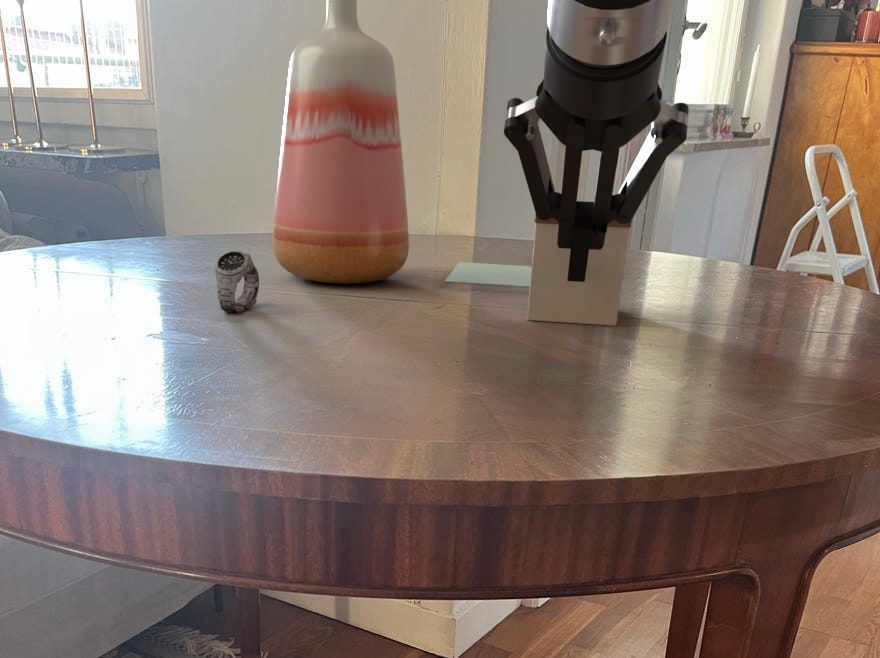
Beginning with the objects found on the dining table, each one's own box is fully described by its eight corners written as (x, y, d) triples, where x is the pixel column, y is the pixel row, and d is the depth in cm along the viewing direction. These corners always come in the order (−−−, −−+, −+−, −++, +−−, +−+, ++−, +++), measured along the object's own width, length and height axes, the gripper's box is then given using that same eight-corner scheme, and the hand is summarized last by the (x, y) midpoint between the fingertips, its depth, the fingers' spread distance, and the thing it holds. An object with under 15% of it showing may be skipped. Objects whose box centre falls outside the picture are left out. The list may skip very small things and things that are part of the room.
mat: (609, 272, 113) (609, 270, 113) (612, 293, 101) (612, 291, 101) (459, 263, 115) (459, 262, 115) (444, 283, 103) (444, 281, 103)
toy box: (615, 309, 92) (628, 207, 88) (617, 326, 85) (632, 217, 81) (530, 303, 94) (539, 203, 89) (525, 320, 86) (535, 212, 82)
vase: (389, 266, 111) (395, -45, 96) (423, 289, 99) (437, -64, 84) (265, 268, 107) (252, -55, 93) (285, 291, 95) (274, -76, 81)
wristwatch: (209, 313, 85) (205, 254, 83) (237, 301, 90) (234, 244, 88) (245, 316, 85) (242, 256, 82) (272, 304, 90) (270, 247, 87)
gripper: (496, 71, 59) (497, 301, 82) (710, 77, 58) (651, 310, 80) (509, -23, 61) (506, 227, 84) (717, -20, 60) (657, 234, 82)
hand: (577, 267), depth 82 cm, fingers closed
